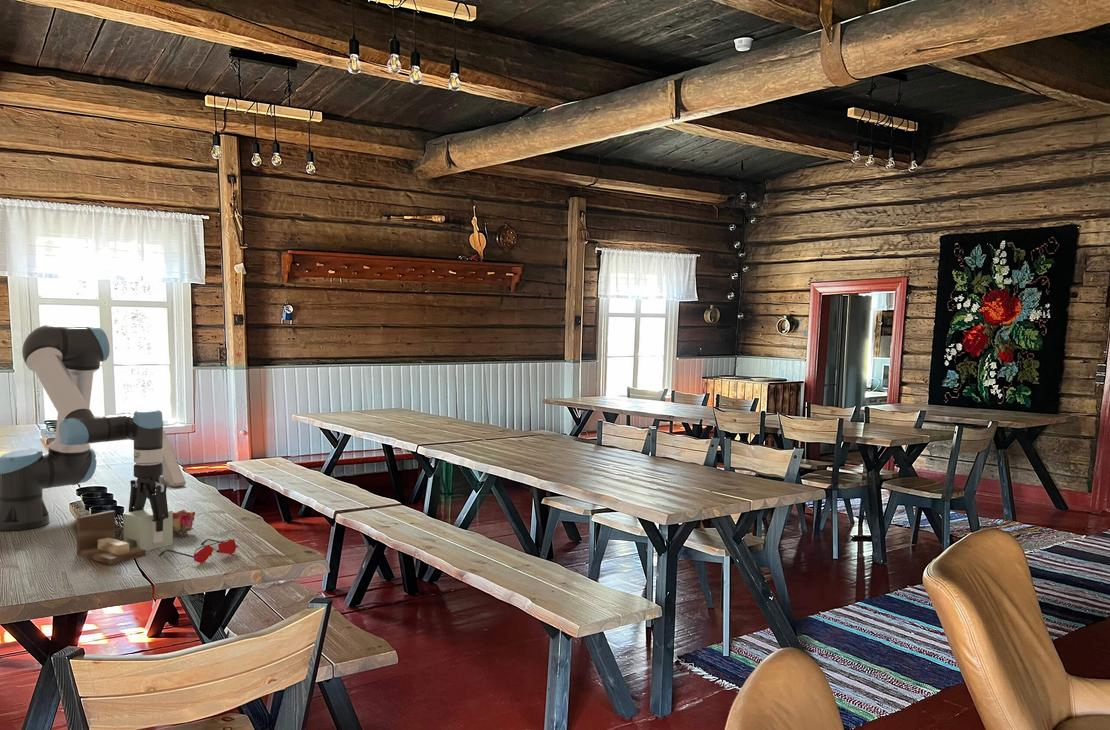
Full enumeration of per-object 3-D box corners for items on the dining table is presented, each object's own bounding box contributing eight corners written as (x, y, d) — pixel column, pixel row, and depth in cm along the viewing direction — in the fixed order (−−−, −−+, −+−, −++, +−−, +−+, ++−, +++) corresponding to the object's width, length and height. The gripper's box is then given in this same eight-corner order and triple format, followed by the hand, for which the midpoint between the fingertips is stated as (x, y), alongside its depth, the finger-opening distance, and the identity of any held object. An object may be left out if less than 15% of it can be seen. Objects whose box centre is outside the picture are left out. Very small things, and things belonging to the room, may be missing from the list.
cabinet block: (140, 552, 222) (140, 517, 221) (123, 547, 226) (123, 513, 225) (176, 542, 232) (176, 509, 231) (160, 538, 235) (160, 505, 235)
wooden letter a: (162, 522, 312) (142, 470, 329) (174, 521, 315) (153, 469, 332) (174, 483, 302) (153, 431, 319) (185, 482, 305) (164, 430, 322)
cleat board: (76, 554, 218) (76, 517, 217) (112, 545, 227) (112, 510, 226) (110, 564, 210) (110, 526, 210) (145, 555, 219) (145, 518, 218)
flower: (205, 530, 240) (200, 506, 243) (178, 530, 232) (173, 506, 235) (186, 543, 243) (181, 520, 246) (158, 544, 235) (154, 520, 238)
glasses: (195, 567, 211) (195, 549, 211) (157, 557, 219) (157, 539, 219) (238, 554, 223) (239, 537, 223) (201, 545, 231) (201, 528, 231)
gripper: (114, 460, 228) (114, 536, 230) (158, 469, 218) (158, 548, 219) (138, 457, 235) (139, 531, 236) (182, 465, 225) (182, 542, 226)
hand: (148, 539), depth 228 cm, fingers closed on cabinet block, 8 cm apart
